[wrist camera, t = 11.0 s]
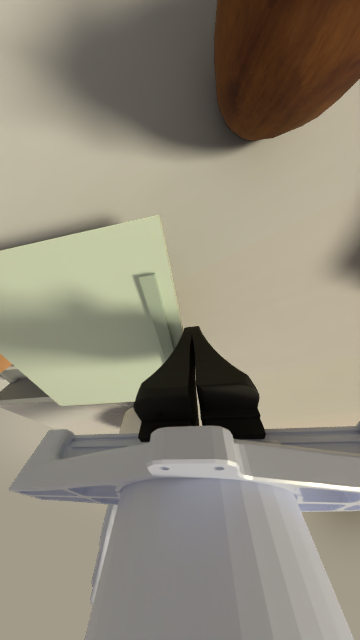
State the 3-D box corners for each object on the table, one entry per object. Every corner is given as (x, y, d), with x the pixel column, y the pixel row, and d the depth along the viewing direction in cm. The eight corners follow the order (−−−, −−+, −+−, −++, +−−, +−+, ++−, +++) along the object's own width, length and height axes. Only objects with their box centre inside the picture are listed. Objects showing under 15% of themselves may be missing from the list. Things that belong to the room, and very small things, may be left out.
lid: (195, 392, 18) (196, 402, 16) (63, 401, 20) (57, 410, 19) (160, 215, 8) (156, 213, 7) (-81, 270, 11) (-109, 274, 10)
